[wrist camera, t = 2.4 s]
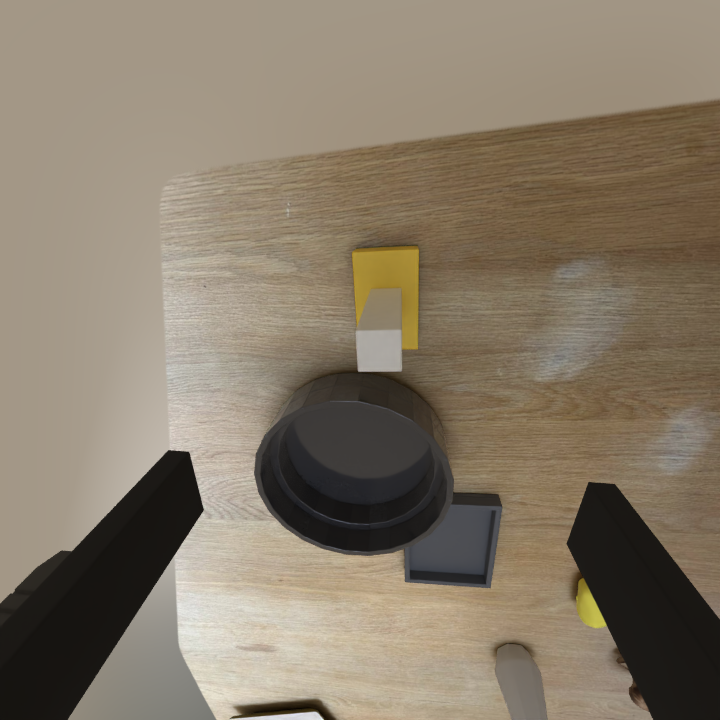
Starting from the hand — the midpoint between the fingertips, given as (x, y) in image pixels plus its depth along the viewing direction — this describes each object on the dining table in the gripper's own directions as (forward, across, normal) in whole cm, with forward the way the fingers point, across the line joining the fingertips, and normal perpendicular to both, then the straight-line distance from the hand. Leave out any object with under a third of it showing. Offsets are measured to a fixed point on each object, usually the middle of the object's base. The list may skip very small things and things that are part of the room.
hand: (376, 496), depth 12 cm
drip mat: (+21, +8, -26) cm, 35 cm away
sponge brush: (+21, 0, +2) cm, 21 cm away
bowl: (+21, -3, -14) cm, 26 cm away
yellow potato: (+21, +25, -33) cm, 46 cm away
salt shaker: (+21, +19, -48) cm, 56 cm away
